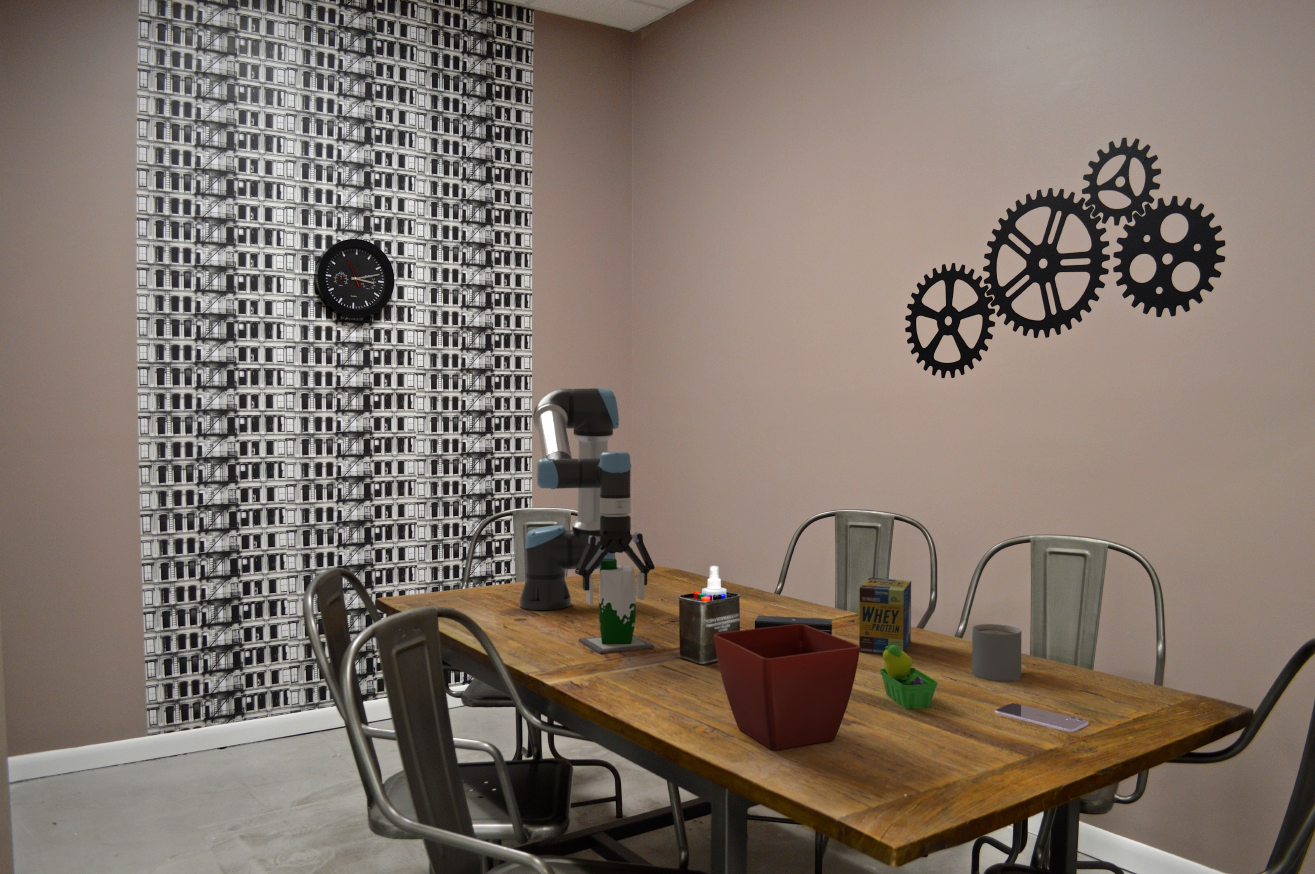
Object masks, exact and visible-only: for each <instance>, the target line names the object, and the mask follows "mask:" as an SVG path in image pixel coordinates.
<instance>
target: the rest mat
mask: <svg viewBox="0 0 1315 874" xmlns="http://www.w3.org/2000/svg"><path fill="white" fill-rule="evenodd" d="M578 642H579V643H581V644H583V645H584V646H586V647H587V648H589V649H591V650H592V651H594V652H596V653H597V652H598V653H597V654H599V655H602V654H601V653H605V654H611V652H613V653H619V651H621V652H627V651H628V650H630V651H635V649H638V650H644V649H643V648H646V649H653V647H654V644H652V643H650V642H648V641H647V640H644V639H642V638H640V637H639V636H636V635H634V634H633V637H632V643H631V644H602V639H601V635H600V636H592V637H583V638H578ZM628 652H629V651H628Z"/></svg>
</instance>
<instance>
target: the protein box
mask: <svg viewBox="0 0 1315 874" xmlns="http://www.w3.org/2000/svg"><path fill="white" fill-rule="evenodd" d="M858 589H859V591H858V593H859V594H858V598H859V599H858V601H859V603H858V604H859V605H858V607H859V608H858V612H859V613H858V645H859V646H860V653H867V654H877V655H883V653H884V651H885V650H886V648H885V647H886V646H891V645H896V646H898V647H899V648H900V650H901V651H903V652H904V653H906V651H907V650H908V648H909V646H910V644H911V642H912V637H911V635H912V634H911V633H912V629H911V628H912V581H911V580H904V579H891V578H890V579H889V578H877V577H869V578H868V579H866V581H865V582H864V583H863V584H862V585H861V586H860V587H859V588H858Z"/></svg>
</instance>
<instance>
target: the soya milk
mask: <svg viewBox="0 0 1315 874" xmlns="http://www.w3.org/2000/svg"><path fill="white" fill-rule="evenodd" d="M617 562H618V561H617V559H616V558H614V559H602V560H601V562H600V566H601V568H599V584H598V585H599V587H598V622H599V632H600V636H601V639H602V644H631V643H632V637H633V635H634V630H635V625H636V619H637V617H636V616H637V599H636V598H637V586H636V578H635V572H634V566H633V565H631V566H630V565H629V566H627V565H626V566H624V565H618V563H617Z"/></svg>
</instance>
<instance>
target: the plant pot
mask: <svg viewBox="0 0 1315 874" xmlns="http://www.w3.org/2000/svg"><path fill="white" fill-rule="evenodd" d="M713 639H714V640H713V641H714V647H715V654H716V657H717V663H718V667H719V668H718V669H719V671H720V672H719V673H720V676H721V680H722V683H723V687H724V691H725V693H726V696H727V701H728V704H729V706H730V710H731V712H732V715H733V718H734V721H735V723H736V726H737V728H738V729H739V730H740V731H741V732H744V734H746V735H747V736H749V737H751V738H752V739H754V741H755V740H756V741H757V742H758V743H760V744H762V745H763V746H765V747H766V748H768V749H769V750H771V751H772V750H773V751H778V750H779V751H780V750H787V749H791V748H796V747H797V748H798V747H801V746H807V745H812V744H813V745H814V744H818V743H824V742H829V741H834V740H835V738H836V736H837V733H838V732H839V730H840V726H841V725H842V722H843V719H844V716H845V713H846V712H847V707H848V705H849V703H850V702H849V701H850V698H851V695H852V690H853V686H854V684H855V683H854V682H855V678H856V675H857V674H856V673H857V669H858V662H859V658H860V653H861V652H860V646H859V644H858V643H857V644H856V643H854V642H851V641H848V640H846V639H843V638H841V637H837V636H835V635H833V634H830V633H828V632H826V631H823V630H820V629H817V628H814V627H812V626H809V625H807V624H802V623H794V624H785V625H778V626H768V627H761V628H754V629H753V628H751V629H743V630H734V631H724V632H716V633H714V634H713Z"/></svg>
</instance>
